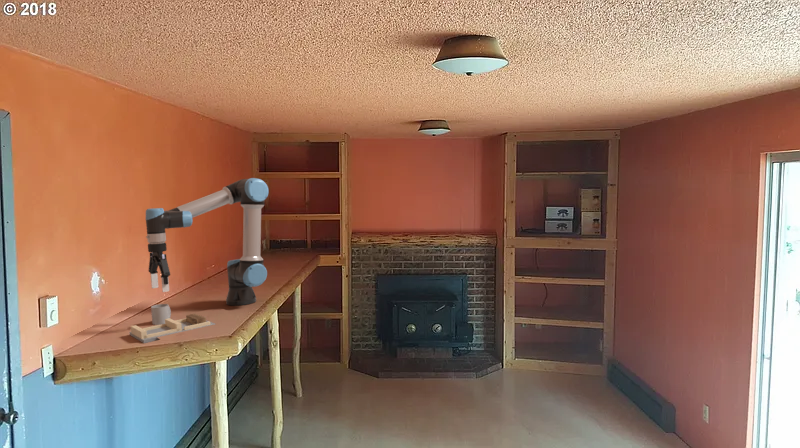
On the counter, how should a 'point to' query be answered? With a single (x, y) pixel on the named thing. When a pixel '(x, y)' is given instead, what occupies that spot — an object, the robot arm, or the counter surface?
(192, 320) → the brown rounded bar
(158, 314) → the cup
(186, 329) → the jig
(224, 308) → the counter surface
